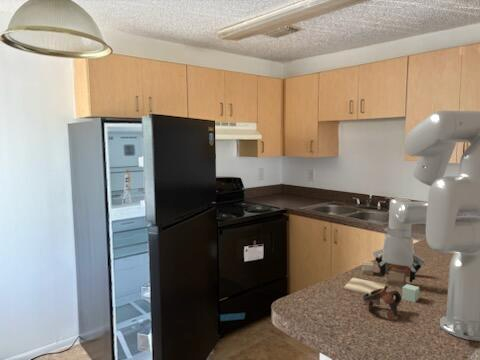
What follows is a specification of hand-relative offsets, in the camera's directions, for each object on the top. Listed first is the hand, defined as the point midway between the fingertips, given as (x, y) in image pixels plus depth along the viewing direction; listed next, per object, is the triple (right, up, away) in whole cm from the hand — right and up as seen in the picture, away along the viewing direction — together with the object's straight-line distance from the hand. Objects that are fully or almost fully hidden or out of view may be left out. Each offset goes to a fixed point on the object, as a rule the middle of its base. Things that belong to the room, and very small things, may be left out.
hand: (396, 278), depth 134 cm
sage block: (-1, -3, -13) cm, 13 cm away
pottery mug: (-14, -5, -22) cm, 26 cm away
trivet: (-13, -2, -4) cm, 14 cm away
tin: (+5, -1, +11) cm, 12 cm away
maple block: (-7, -1, +11) cm, 13 cm away
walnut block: (0, -2, 0) cm, 2 cm away
